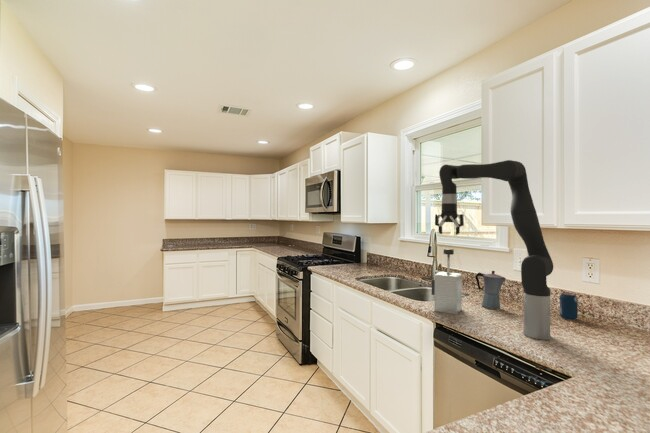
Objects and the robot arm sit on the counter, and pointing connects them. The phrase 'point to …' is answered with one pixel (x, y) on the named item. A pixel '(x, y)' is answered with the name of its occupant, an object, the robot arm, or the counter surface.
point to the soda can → (568, 306)
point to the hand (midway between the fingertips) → (448, 234)
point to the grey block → (447, 292)
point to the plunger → (448, 258)
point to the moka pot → (491, 289)
